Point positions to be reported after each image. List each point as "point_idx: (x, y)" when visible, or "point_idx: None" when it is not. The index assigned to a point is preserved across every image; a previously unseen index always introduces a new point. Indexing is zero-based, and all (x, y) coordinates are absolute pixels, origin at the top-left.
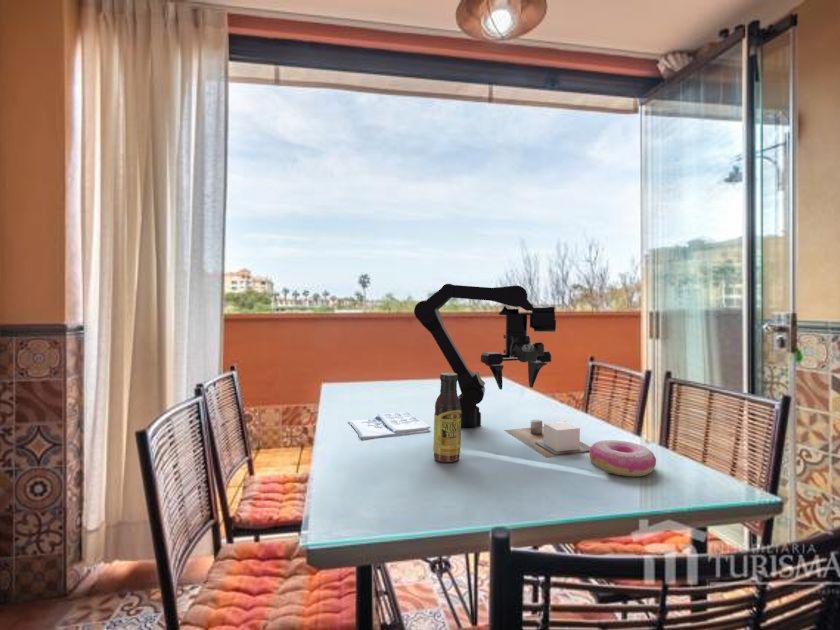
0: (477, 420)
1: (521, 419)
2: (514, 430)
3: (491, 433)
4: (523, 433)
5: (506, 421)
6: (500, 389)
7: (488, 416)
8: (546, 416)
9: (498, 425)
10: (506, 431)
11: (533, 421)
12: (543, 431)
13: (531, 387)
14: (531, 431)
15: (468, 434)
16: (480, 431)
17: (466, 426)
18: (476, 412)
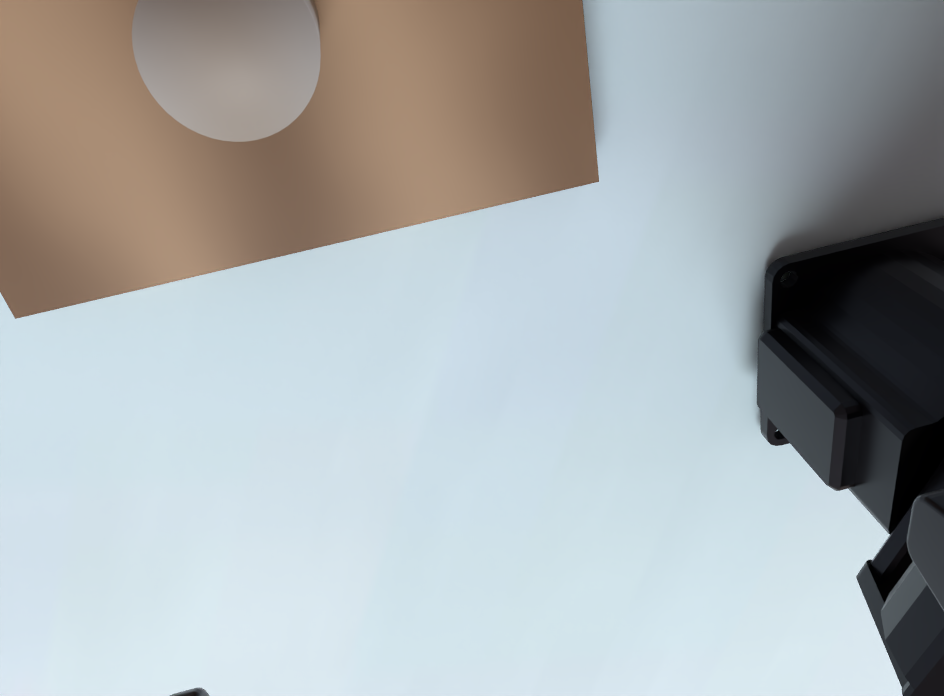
0: (837, 346)
1: (281, 595)
2: (487, 161)
3: (701, 191)
4: (414, 30)
5: (436, 538)
6: (941, 496)
7: (546, 646)
8: (16, 684)
9: (545, 430)
10: (589, 128)
11: (280, 44)
12: (132, 97)
13: (196, 689)
14: (315, 7)
15: (921, 171)
16: (775, 259)
17: (941, 265)
18: (913, 381)
